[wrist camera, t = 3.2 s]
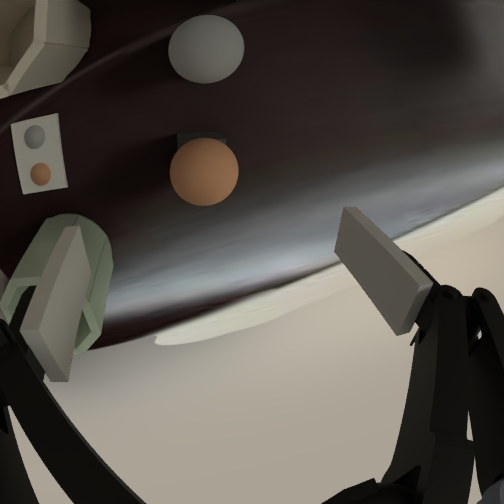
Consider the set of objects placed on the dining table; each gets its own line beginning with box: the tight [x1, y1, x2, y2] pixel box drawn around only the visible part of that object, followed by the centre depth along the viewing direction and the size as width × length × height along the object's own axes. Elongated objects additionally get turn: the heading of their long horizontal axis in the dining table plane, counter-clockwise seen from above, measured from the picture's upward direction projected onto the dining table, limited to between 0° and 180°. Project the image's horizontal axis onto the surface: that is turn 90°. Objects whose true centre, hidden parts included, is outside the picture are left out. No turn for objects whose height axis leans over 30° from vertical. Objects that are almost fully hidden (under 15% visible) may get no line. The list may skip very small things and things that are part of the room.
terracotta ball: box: [170, 138, 238, 206], centre depth 22 cm, size 5×5×5 cm
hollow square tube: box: [177, 131, 226, 151], centre depth 25 cm, size 4×4×3 cm
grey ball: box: [168, 15, 244, 83], centre depth 17 cm, size 5×5×5 cm
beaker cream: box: [0, 0, 91, 99], centre depth 13 cm, size 9×9×10 cm
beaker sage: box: [0, 213, 114, 355], centre depth 25 cm, size 9×9×10 cm
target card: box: [11, 113, 68, 194], centre depth 22 cm, size 7×5×1 cm
